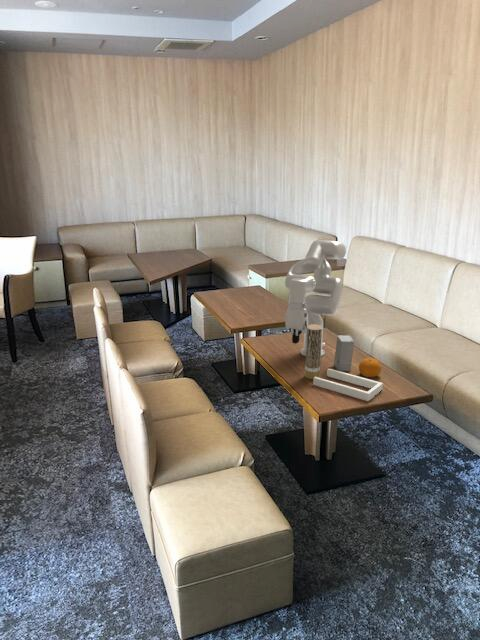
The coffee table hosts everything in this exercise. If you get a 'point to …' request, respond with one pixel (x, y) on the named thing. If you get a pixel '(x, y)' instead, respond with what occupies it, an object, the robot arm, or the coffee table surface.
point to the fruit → (370, 367)
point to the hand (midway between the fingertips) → (295, 342)
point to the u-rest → (347, 390)
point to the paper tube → (313, 351)
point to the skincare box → (343, 353)
